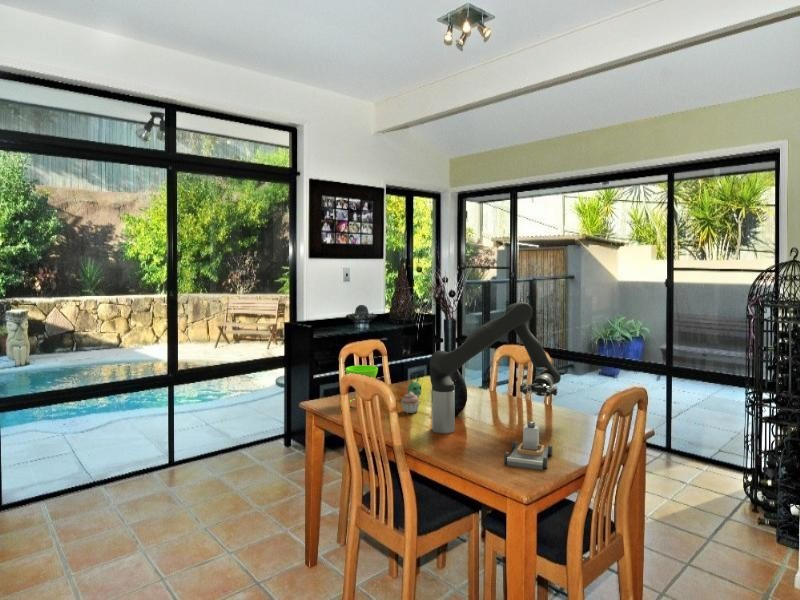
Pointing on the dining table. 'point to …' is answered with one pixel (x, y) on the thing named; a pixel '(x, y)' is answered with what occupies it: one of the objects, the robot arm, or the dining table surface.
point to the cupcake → (410, 403)
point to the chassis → (528, 456)
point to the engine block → (531, 436)
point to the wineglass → (363, 370)
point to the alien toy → (414, 388)
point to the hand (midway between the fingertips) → (536, 393)
